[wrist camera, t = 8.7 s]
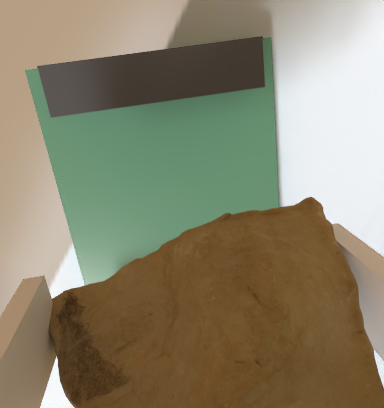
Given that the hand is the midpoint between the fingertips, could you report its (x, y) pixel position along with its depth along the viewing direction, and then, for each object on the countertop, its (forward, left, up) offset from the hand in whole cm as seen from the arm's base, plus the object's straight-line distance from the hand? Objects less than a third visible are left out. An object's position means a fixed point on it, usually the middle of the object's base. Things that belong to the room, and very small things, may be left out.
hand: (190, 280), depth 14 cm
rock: (0, 0, -1) cm, 1 cm away
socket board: (0, 0, -11) cm, 11 cm away
